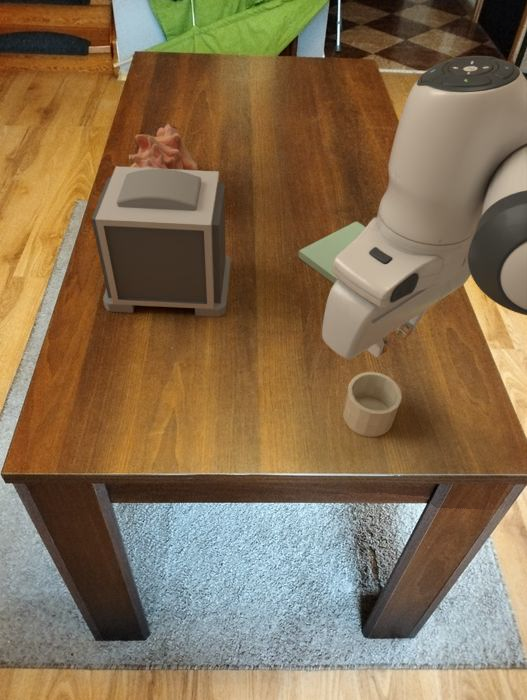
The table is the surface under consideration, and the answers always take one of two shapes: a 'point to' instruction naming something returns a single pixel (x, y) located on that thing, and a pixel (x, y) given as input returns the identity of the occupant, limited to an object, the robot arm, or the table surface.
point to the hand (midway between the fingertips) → (389, 341)
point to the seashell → (163, 151)
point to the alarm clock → (163, 240)
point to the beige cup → (371, 404)
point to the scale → (330, 249)
